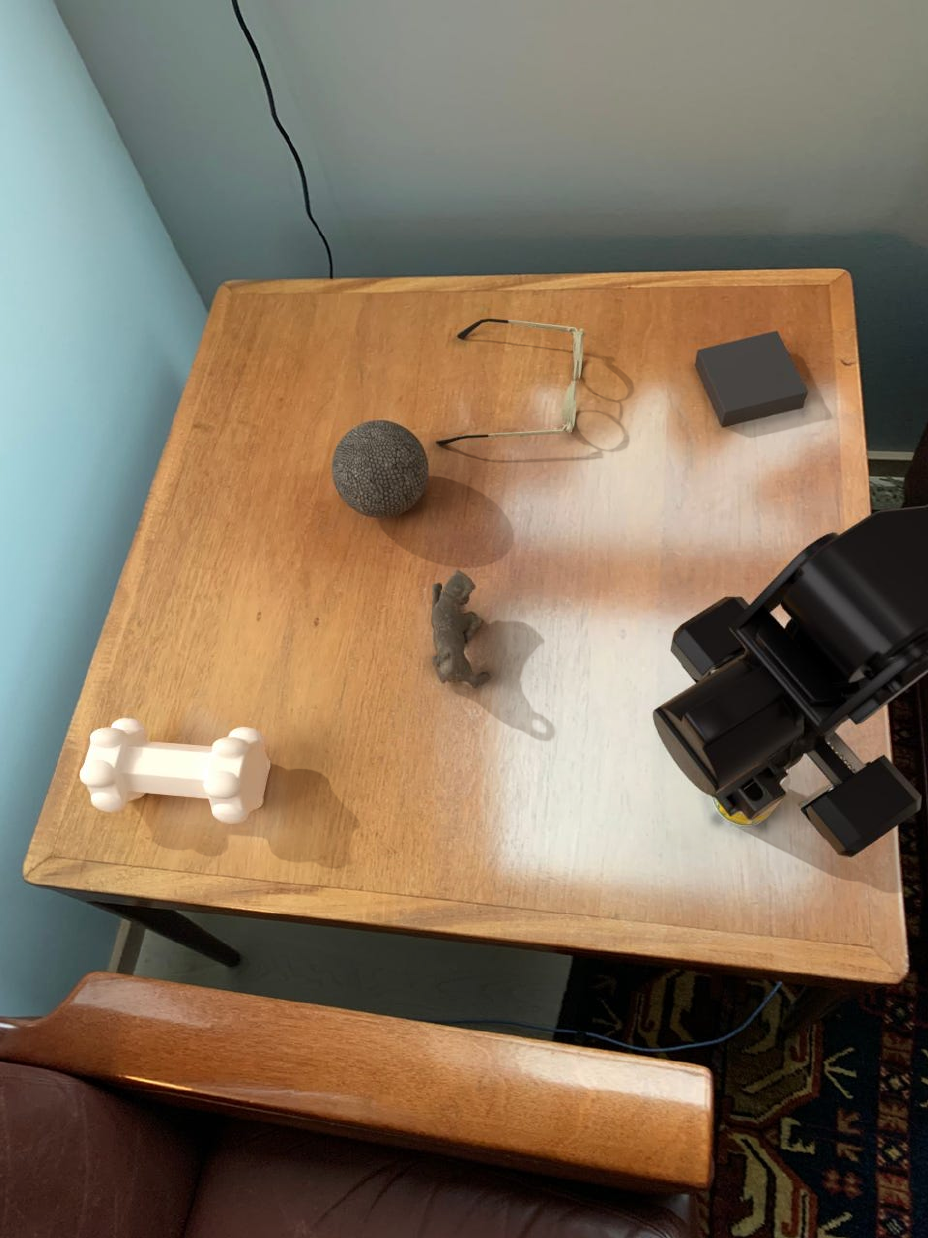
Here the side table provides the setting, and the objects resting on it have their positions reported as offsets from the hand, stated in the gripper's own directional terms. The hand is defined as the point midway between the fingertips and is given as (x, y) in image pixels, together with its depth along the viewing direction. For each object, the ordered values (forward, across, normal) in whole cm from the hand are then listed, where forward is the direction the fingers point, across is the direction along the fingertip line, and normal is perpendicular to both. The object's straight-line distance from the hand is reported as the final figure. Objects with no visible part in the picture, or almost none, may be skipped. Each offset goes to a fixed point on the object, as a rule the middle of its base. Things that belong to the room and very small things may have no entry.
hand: (764, 753), depth 67 cm
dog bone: (+11, -28, -42) cm, 52 cm away
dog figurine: (+11, -26, -13) cm, 31 cm away
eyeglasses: (+11, -50, +8) cm, 51 cm away
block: (+10, -34, +29) cm, 46 cm away
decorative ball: (+11, -46, -10) cm, 48 cm away
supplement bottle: (+11, +1, 0) cm, 11 cm away
